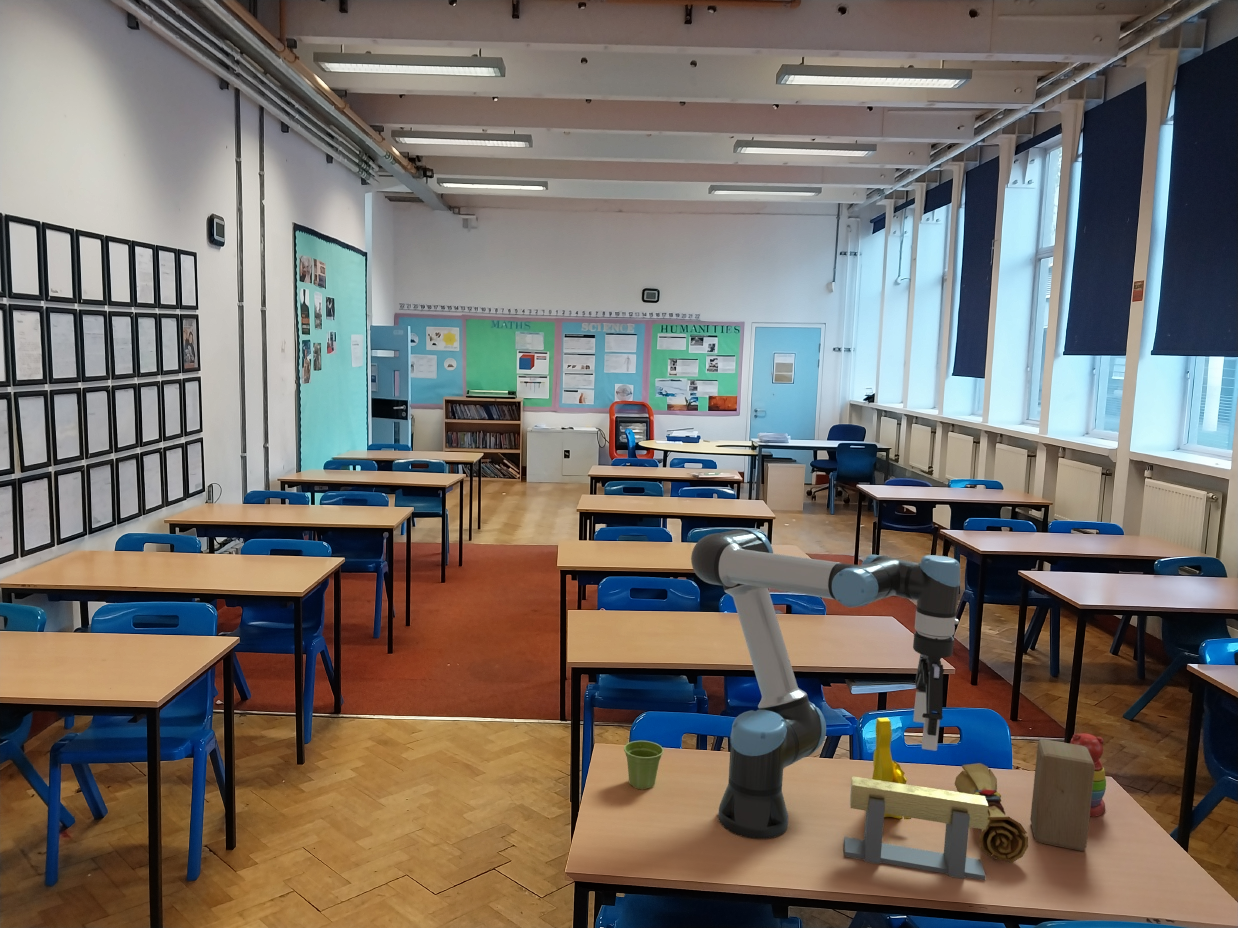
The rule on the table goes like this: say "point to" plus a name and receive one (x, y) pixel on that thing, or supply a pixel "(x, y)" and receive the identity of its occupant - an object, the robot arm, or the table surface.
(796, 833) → the table surface
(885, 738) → the figure statuette
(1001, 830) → the scroll
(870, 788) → the rail
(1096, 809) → the stacking bear
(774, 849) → the table surface
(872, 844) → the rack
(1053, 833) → the wooden block
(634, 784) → the plant pot
